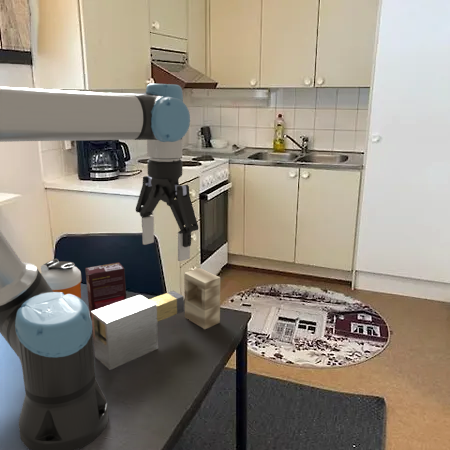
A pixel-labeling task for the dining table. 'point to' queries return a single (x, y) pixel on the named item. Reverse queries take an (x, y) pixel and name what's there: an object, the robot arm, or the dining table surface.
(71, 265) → the shaker bottle
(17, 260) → the robot arm
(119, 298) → the supplement box
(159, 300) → the yellow square bar
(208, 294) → the socket
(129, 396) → the dining table surface
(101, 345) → the sleeve
